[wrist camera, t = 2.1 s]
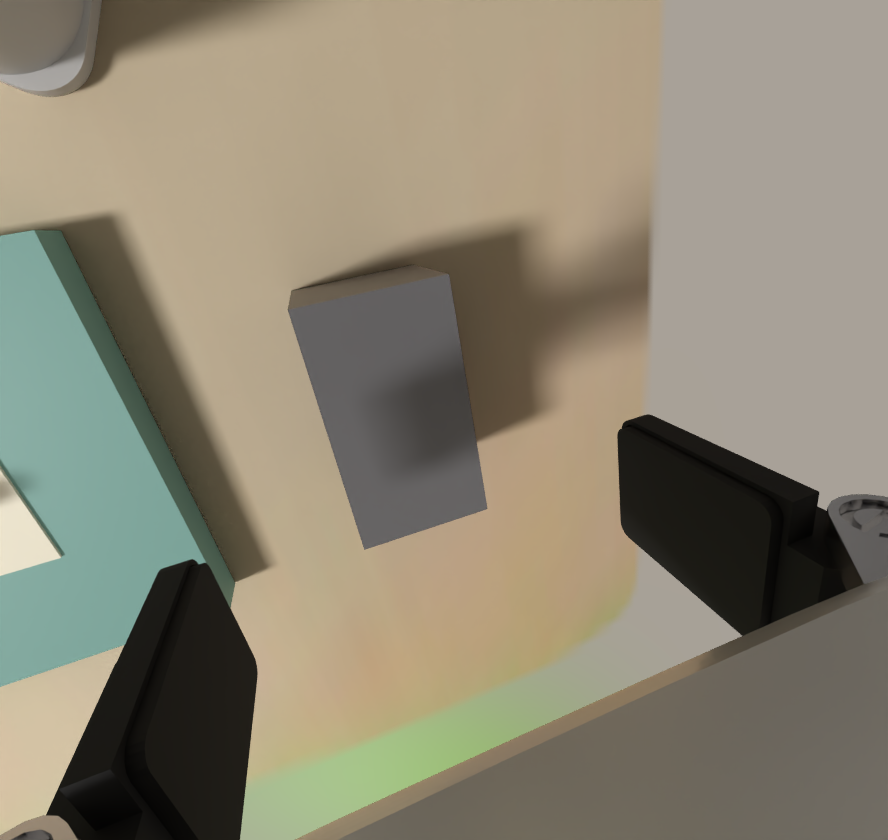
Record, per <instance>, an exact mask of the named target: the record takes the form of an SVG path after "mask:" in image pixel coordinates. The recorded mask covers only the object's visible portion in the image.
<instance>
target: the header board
mask: <svg viewBox="0 0 888 840" xmlns="http://www.w3.org/2000/svg"><path fill="white" fill-rule="evenodd" d="M190 559H193V560H195V561H197V562H198V564H202V563H207V564H208V565H209V567H210V568H211V570H212V572H213V574H214V576H215V578H216V580H217V582H218V584H219V586H220V588H221V590H222V592H223V595H224V597H225V599H226V601H227V603H228V605H229V607H231V602H232V597H233V592H234V587H235V582H234V580H233V578H232V576H231V574H230V572H229V570H228V568H227V566H226V564H225V562H224V560H223V558H222V556H221V553H220V551H219V549H218V547H217V545H216V543H215V541H214V539H213V537H212V535H211V533H210V531H209V529H208V527H207V525H206V523H205V521H204V519H203V517H202V515H201V513H200V511H199V509H198V507H197V505H196V503H195V501H194V499H193V497H192V495H191V493H190V491H189V489H188V487H187V485H186V483H185V481H184V479H183V477H182V475H181V473H180V471H179V469H178V467H177V465H176V462H175V460H174V458H173V456H172V454H171V452H170V450H169V448H168V446H167V444H166V442H165V440H164V438H163V436H162V434H161V432H160V430H159V428H158V426H157V424H156V422H155V420H154V418H153V416H152V414H151V412H150V410H149V408H148V406H147V404H146V402H145V400H144V398H143V396H142V394H141V392H140V390H139V388H138V386H137V384H136V382H135V380H134V378H133V376H132V374H131V371H130V369H129V367H128V365H127V363H126V361H125V359H124V357H123V355H122V353H121V351H120V349H119V347H118V345H117V343H116V341H115V339H114V337H113V335H112V333H111V331H110V329H109V327H108V325H107V323H106V321H105V319H104V317H103V315H102V313H101V311H100V309H99V307H98V305H97V303H96V301H95V299H94V297H93V295H92V293H91V291H90V289H89V287H88V285H87V283H86V280H85V278H84V276H83V274H82V272H81V270H80V268H79V266H78V264H77V262H76V260H75V258H74V256H73V254H72V252H71V250H70V248H69V246H68V244H67V242H66V240H65V238H64V236H63V234H62V232H61V231H55V230H31V231H26V232H20V233H14V234H8V235H2V236H0V687H1V686H4V685H7V684H10V683H13V682H16V681H19V680H22V679H25V678H28V677H31V676H34V675H37V674H39V673H42V672H45V671H48V670H51V669H54V668H57V667H60V666H63V665H66V664H69V663H72V662H75V661H78V660H81V659H84V658H87V657H90V656H93V655H96V654H99V653H102V652H105V651H108V650H111V649H114V648H117V647H119V646H122V645H125V643H126V641H127V639H128V637H129V635H130V632H131V630H132V628H133V626H134V624H135V622H136V619H137V617H138V615H139V613H140V611H141V608H142V606H143V604H144V602H145V600H146V597H147V595H148V593H149V591H150V589H151V587H152V584H153V582H154V580H155V578H156V576H157V573H158V572H159V570H160V569H162V568H165V567H168V566H172V565H175V564H178V563H181V562H184V561H187V560H190Z"/></svg>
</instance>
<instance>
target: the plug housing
mask: <svg viewBox="0 0 888 840" xmlns="http://www.w3.org/2000/svg"><path fill="white" fill-rule="evenodd" d="M288 312H289V315H290V318H291V321H292V325H293V328H294V331H295V334H296V337H297V340H298V343H299V346H300V350H301V353H302V356H303V359H304V362H305V365H306V368H307V371H308V375H309V378H310V381H311V384H312V387H313V390H314V393H315V396H316V400H317V403H318V406H319V409H320V412H321V415H322V418H323V422H324V425H325V428H326V431H327V434H328V437H329V440H330V443H331V447H332V450H333V453H334V456H335V459H336V462H337V465H338V468H339V472H340V475H341V478H342V481H343V484H344V487H345V490H346V494H347V497H348V500H349V503H350V506H351V509H352V512H353V515H354V519H355V522H356V525H357V528H358V531H359V534H360V537H361V540H362V544H363V547H364V550H365V549H368V548H371V547H374V546H377V545H380V544H383V543H386V542H389V541H392V540H395V539H398V538H401V537H404V536H407V535H410V534H413V533H416V532H419V531H422V530H425V529H428V528H431V527H434V526H437V525H440V524H443V523H446V522H449V521H452V520H455V519H459V518H462V517H465V516H468V515H471V514H474V513H477V512H480V511H483V510H486V509H487V503H486V497H485V491H484V485H483V479H482V473H481V467H480V460H479V454H478V448H477V442H476V436H475V430H474V424H473V418H472V412H471V406H470V400H469V393H468V387H467V381H466V375H465V369H464V363H463V357H462V351H461V345H460V339H459V332H458V326H457V320H456V314H455V308H454V302H453V296H452V290H451V284H450V278H449V274H447V273H443V272H440V271H436V270H432V269H428V268H424V267H420V266H416V265H409V266H405V267H400V268H395V269H391V270H386V271H381V272H377V273H372V274H368V275H363V276H358V277H354V278H349V279H344V280H340V281H335V282H330V283H326V284H321V285H317V286H312V287H307V288H303V289H298V290H293V291H291V296H290V301H289V306H288Z"/></svg>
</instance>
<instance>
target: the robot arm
mask: <svg viewBox="0 0 888 840" xmlns="http://www.w3.org/2000/svg"><path fill="white" fill-rule="evenodd" d="M618 463H619V489H620V514H621V525H622V528H623V530H624V532H625V534H626V535H627V536H628V537H629V538H630V539H631V540H632V541H633V542H635V543H636V544H637V545H638V546H639V547H640V548H642V549H643V550H644V551H645V552H646V553H647V554H649V555H650V556H651V557H652V558H653V559H654V560H655V561H657V562H658V563H659V564H660V565H661V566H662V567H664V568H665V569H666V570H667V571H668V572H669V573H671V574H672V575H673V576H674V577H675V578H676V579H678V580H679V581H680V582H681V583H682V584H683V585H684V586H685V587H687V588H688V589H689V590H690V591H691V592H692V593H694V594H695V595H696V596H697V597H698V598H699V599H701V600H702V601H703V602H704V603H705V604H706V605H707V606H709V607H710V608H711V609H712V610H713V611H714V612H716V613H717V614H718V615H719V616H720V617H721V618H723V619H724V620H725V621H726V622H727V623H728V624H730V625H731V626H732V627H733V628H734V629H735V630H737V631H738V632H739V633H740V634H741V635H742V637H740V638H737V639H735V640H733V641H730V642H728V643H726V644H724V645H721V646H719V647H717V648H714V649H712V650H710V651H708V652H705V653H703V654H701V655H699V656H697V657H694V658H692V659H690V660H688V661H685V662H683V663H681V664H678V665H676V666H674V667H672V668H669V669H667V670H665V671H663V672H660V673H658V674H656V675H654V676H652V677H650V678H647V679H645V680H643V681H640V682H638V683H636V684H634V685H632V686H629V687H627V688H625V689H623V690H620V691H618V692H616V693H614V694H612V695H609V696H607V697H605V698H603V699H600V700H598V701H596V702H594V703H592V704H589V705H587V706H585V707H583V708H581V709H578V710H576V711H574V712H572V713H570V714H568V715H565V716H563V717H561V718H559V719H556V720H554V721H552V722H550V723H547V724H545V725H543V726H541V727H539V728H536V729H534V730H532V731H530V732H528V733H525V734H523V735H521V736H519V737H516V738H514V739H512V740H510V741H508V742H505V743H503V744H501V745H499V746H497V747H494V748H493V749H490V750H488V751H486V752H484V753H481V754H479V755H477V756H475V757H473V758H470V759H468V760H466V761H464V762H462V763H459V764H457V765H455V766H453V767H451V768H449V769H447V770H444V771H442V772H440V773H438V774H435V775H433V776H431V777H429V778H427V779H425V780H422V781H420V782H418V783H416V784H414V785H411V786H409V787H408V788H405V789H403V790H401V791H398V792H396V793H394V794H392V795H390V796H387V797H385V798H383V799H381V800H379V801H377V802H374V803H372V804H370V805H368V806H366V807H363V808H361V809H359V810H357V811H355V812H353V813H351V814H348V815H346V816H344V817H342V818H339V819H338V820H335V821H333V822H331V823H329V824H327V825H325V826H323V827H320V828H318V829H316V830H314V831H312V832H310V833H308V834H306V835H304V836H302V837H300V838H298V839H295V840H888V497H884V496H876V495H868V494H859V495H858V494H856V495H848V496H842V497H838V498H837V499H835V500H833V501H831V503H830V504H829V506H828V508H827V511H826V510H824V509H821V508H819V507H817V503H818V497H819V492H818V491H816V490H814V489H812V488H810V487H808V486H805V485H803V484H801V483H799V482H797V481H794V480H792V479H790V478H788V477H786V476H783V475H781V474H779V473H777V472H775V471H773V470H770V469H768V468H766V467H764V466H762V465H759V464H757V463H755V462H753V461H750V460H748V459H746V458H744V457H742V456H740V455H738V454H735V453H733V452H731V451H729V450H727V449H724V448H722V447H720V446H718V445H715V444H713V443H711V442H709V441H707V440H705V439H702V438H700V437H698V436H696V435H694V434H692V433H689V432H687V431H685V430H683V429H681V428H678V427H676V426H674V425H672V424H670V423H667V422H665V421H663V420H661V419H659V418H657V417H654V416H652V415H644V416H640V417H637V418H634V419H631V420H628V421H625V422H624V423H623V426H622V429H620V430H619V432H618ZM256 685H257V665H256V661H255V658H254V655H253V653H252V651H251V649H250V647H249V645H248V643H247V641H246V639H245V637H244V635H243V633H242V631H241V629H240V627H239V625H238V623H237V621H236V619H235V617H234V615H233V613H232V611H231V609H230V607H229V605H228V603H227V601H226V599H225V597H224V595H223V592H222V590H221V588H220V586H219V584H218V582H217V580H216V578H215V576H214V574H213V572H212V570H211V568H210V567H209V565H208V564H207V563H202V564H198V562H197V561H195V560H193V559H190V560H187V561H184V562H181V563H178V564H175V565H172V566H168V567H165V568H162V569H160V570H159V572H158V573H157V576H156V578H155V580H154V582H153V584H152V587H151V589H150V591H149V593H148V595H147V597H146V600H145V602H144V604H143V606H142V608H141V611H140V613H139V615H138V617H137V619H136V622H135V624H134V626H133V628H132V630H131V632H130V635H129V637H128V639H127V641H126V643H125V646H124V648H123V650H122V652H121V654H120V657H119V659H118V661H117V663H116V664H115V666H114V668H113V670H112V672H111V675H110V677H109V679H108V681H107V683H106V685H105V688H104V690H103V692H102V694H101V696H100V699H99V701H98V703H97V705H96V707H95V709H94V712H93V714H92V716H91V718H90V720H89V723H88V725H87V727H86V729H85V731H84V733H83V736H82V738H81V740H80V742H79V744H78V746H77V749H76V751H75V753H74V755H73V757H72V760H71V762H70V764H69V766H68V768H67V770H66V773H65V775H64V777H63V779H62V781H61V784H60V786H59V788H58V790H57V792H56V794H55V797H54V799H53V801H52V803H51V805H50V808H49V810H48V812H47V814H46V815H43V816H40V817H37V818H34V819H31V820H28V821H25V822H23V823H21V824H19V825H17V826H16V827H14V828H12V829H10V830H9V831H7V832H5V833H3V834H2V835H1V836H0V840H240V833H241V824H242V814H243V805H244V796H245V787H246V777H247V768H248V759H249V750H250V740H251V731H252V722H253V712H254V703H255V694H256Z"/></svg>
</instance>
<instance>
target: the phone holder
mask: <svg viewBox="0 0 888 840" xmlns="http://www.w3.org/2000/svg"><path fill="white" fill-rule="evenodd" d="M101 4H102V0H0V82H2V83H5V84H7V85H10V86H12V87H15V88H17V89H20V90H22V91H25V92H27V93H30V94H34V95H38V96H45V97H58V96H64V95H67V94H70V93H72V92H74V91H76V90H77V89H79V88H80V87H81V86H82V85H83V84H84V83H85V82H86V81H87V79H88V77H89V76H90V74H91V71H92V68H93V64H94V58H95V50H96V42H97V35H98V27H99V19H100V12H101Z"/></svg>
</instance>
